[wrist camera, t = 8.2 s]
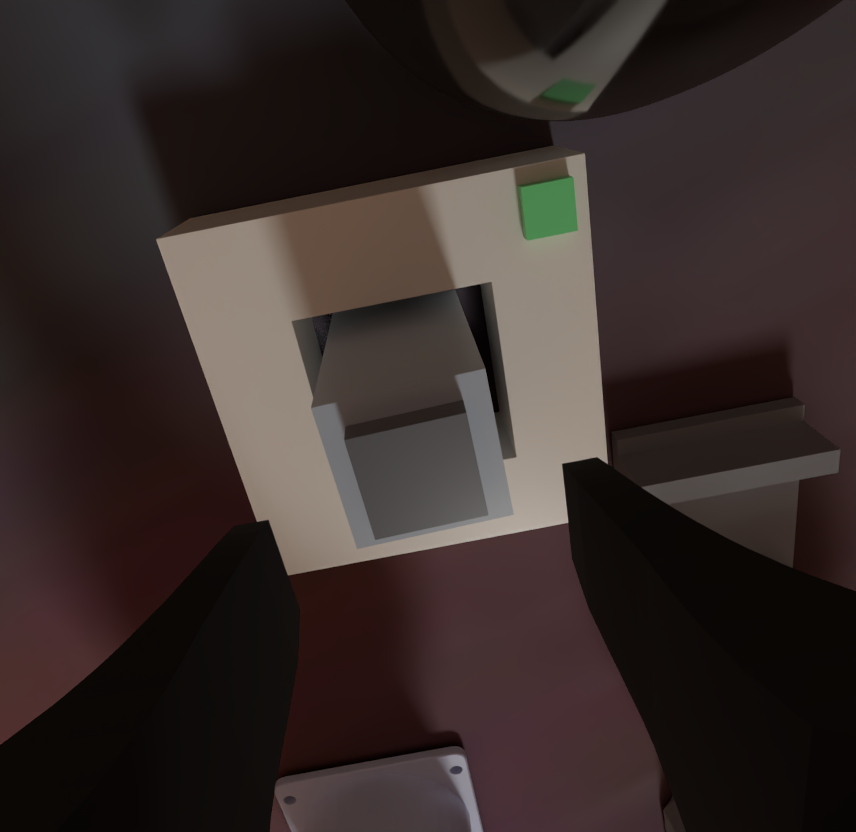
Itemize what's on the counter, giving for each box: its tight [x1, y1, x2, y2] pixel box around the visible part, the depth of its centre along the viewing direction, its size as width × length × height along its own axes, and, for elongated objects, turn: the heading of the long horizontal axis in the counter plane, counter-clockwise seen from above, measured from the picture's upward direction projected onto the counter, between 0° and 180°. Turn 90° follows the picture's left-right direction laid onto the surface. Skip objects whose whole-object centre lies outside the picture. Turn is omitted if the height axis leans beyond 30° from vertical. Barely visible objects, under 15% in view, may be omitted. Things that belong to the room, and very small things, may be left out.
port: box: [156, 145, 608, 575], centre depth 19 cm, size 10×10×3 cm
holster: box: [611, 397, 841, 568], centre depth 22 cm, size 8×6×2 cm
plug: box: [311, 289, 514, 549], centre depth 17 cm, size 4×4×8 cm
